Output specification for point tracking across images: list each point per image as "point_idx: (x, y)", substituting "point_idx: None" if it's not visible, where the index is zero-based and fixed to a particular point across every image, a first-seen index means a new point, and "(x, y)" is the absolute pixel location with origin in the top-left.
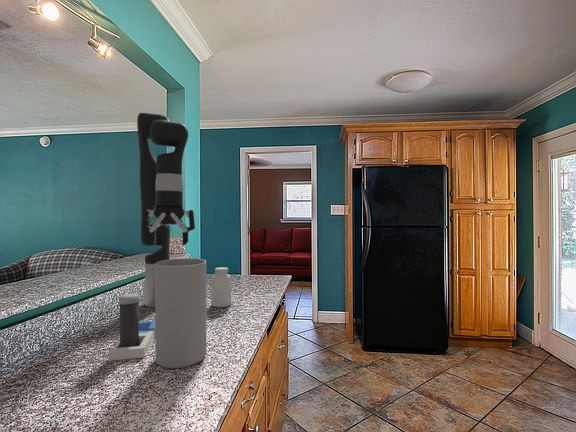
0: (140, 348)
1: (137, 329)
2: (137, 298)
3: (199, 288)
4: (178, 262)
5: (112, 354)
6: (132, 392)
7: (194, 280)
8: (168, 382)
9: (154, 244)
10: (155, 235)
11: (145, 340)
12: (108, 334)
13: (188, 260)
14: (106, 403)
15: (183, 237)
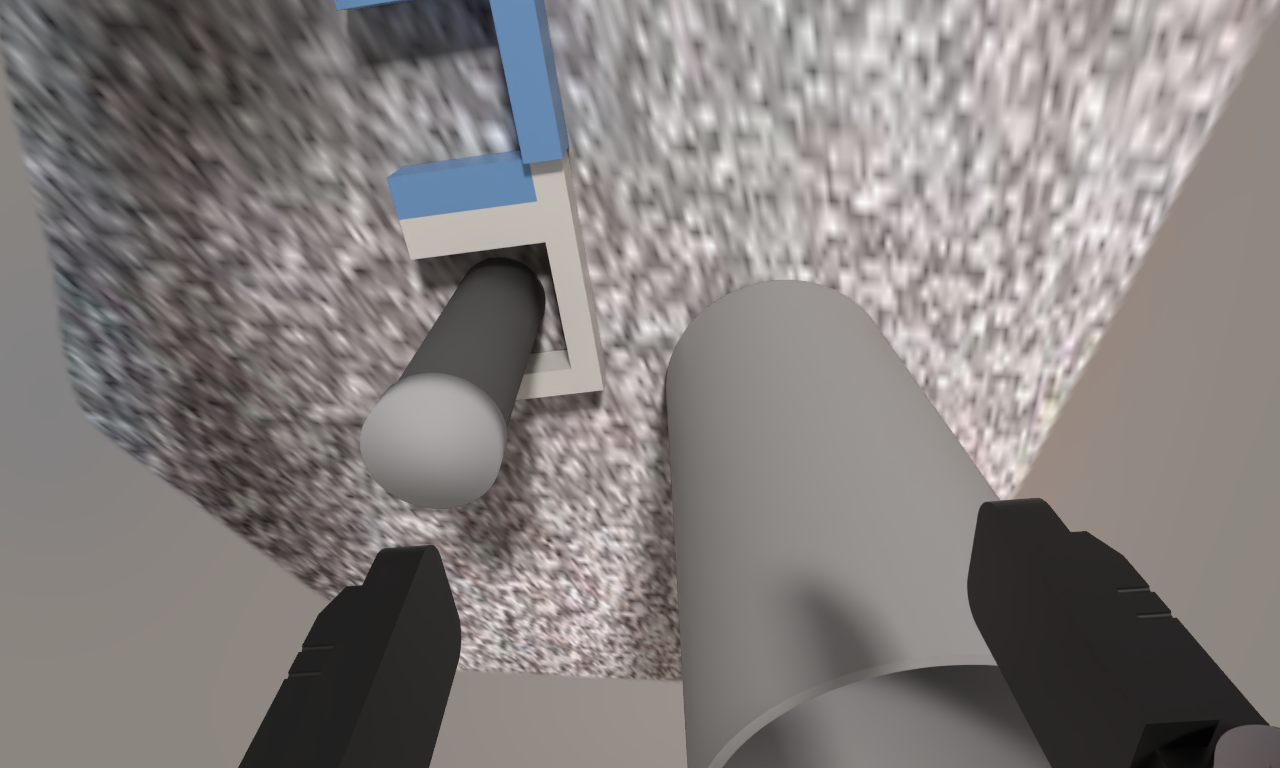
0: (587, 391)
1: (530, 351)
2: (501, 459)
3: (994, 701)
4: (861, 643)
5: None
6: (663, 574)
7: None
8: None
9: (458, 643)
10: (388, 747)
11: (572, 306)
12: (237, 56)
13: (980, 647)
14: (611, 611)
15: (1056, 735)
